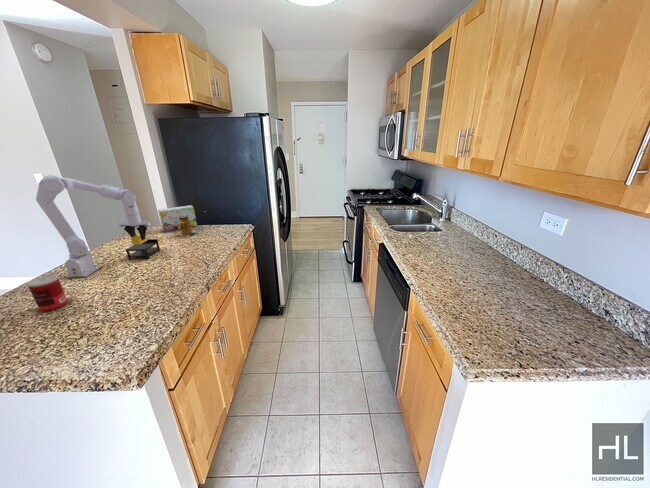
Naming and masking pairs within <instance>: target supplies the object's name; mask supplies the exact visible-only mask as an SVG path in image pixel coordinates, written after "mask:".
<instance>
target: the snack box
mask: <svg viewBox="0 0 650 488" xmlns="http://www.w3.org/2000/svg"><path fill="white" fill-rule="evenodd" d="M157 212H158V216H159V221H160V225H161V230H162V231H163V232H164V233H168V232H173V231H178V230H179V231H180V230H181V228H180V223H179V222H180V221H179V218H180V217H184V216H187V217H188V219H189V221H190V225H191V228H194V227H198V224H197V218H196V212H195V207H194V205H192V204H191V205H184V206H176V207H169V208H161V209H160V208H159V209H157Z"/></svg>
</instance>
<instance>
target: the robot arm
mask: <svg viewBox="0 0 650 488" xmlns="http://www.w3.org/2000/svg"><path fill="white" fill-rule="evenodd" d="M73 189H78V190H82V191H88V192H93V193H97V194H99V196H100V197H103V198H107V199H111V200H115V201H121V204H122V209H123V212H124V215H125V216H124V217H125V219H126V221H121V222H118V226H119V228H123V227H124V228H123V230H124V231H125V232H126V233H127V234H128V235H129V236H130V239H131V238H132V237H134V236H136V235H137V233H136V230H137V232H138V234H140V236H141V239H142V240H144V239H146V238H145V236H146V237H147V234H146V233H147V230H148V227H151V226H152V223H151V221H145V220H142V219H141V215H140V211H139V208H138V205H137V202H136V199H137V195H135V193H134V192H133V191H130V189H129V190H128V189H126V188H124V187H116V186H112V184H109V183H106V184H101V185H96V184H93V183H89V182H85V181H81V180H78V179H74V178H69V177H64V176H56V175H51V174H50V175H46V176H44V177H43V178H42V179H41V180H40V181H39V183H38V186H37V191H36V197H35V200H36V203H37V204H38V205H39V207H40V208H41V210H42V212H43V213H44V214H45V215H46V216H47V218H48V219H49V221H50V223H52V225H53V226H54V228H55V230H56V231H57V233H59V235H60V237H62V240H63V241H64V242H65V244H66V248H67V249H68V253H69V254H68V256H69V258H68V259H67V260H65V263H64V266H65V268H66V271H67V273H68V275H67V278H85V277H88V276H90V275H91V274H94V272H96V271H97V270H100V269H101V268H102V266H96V264H95V262H94V259H93V257H92V254H91V251H90V250H89V248H88V246H87V245H86V242H85V241H84V240H83V239H82V238H80V237H79V236H78V235H77V233H76V232H75V231H74V229H73V228H72V227H71V225H70V224H69V222H68V221H67V219H66V218H65V216H64V214H63V213H62V212H61V210H60V209H59V207H58V206H57V204H56V203H55V202H54V201H55V200H56V198H57V196H58V195H59V194H60V193H62V192H63V191H64V190H67V191H69V190H73Z"/></svg>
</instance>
